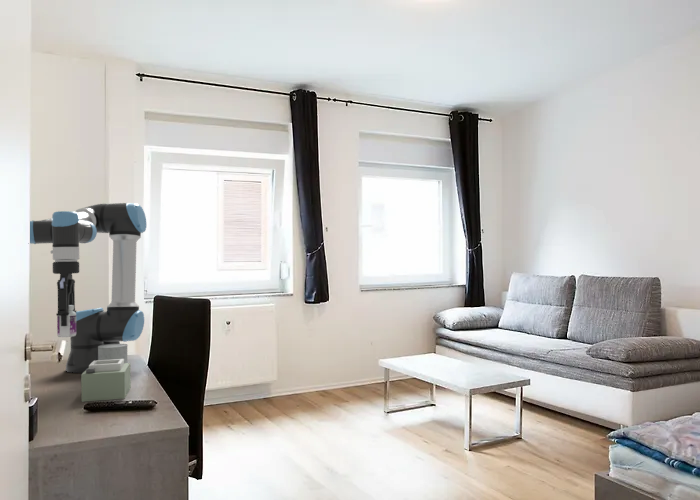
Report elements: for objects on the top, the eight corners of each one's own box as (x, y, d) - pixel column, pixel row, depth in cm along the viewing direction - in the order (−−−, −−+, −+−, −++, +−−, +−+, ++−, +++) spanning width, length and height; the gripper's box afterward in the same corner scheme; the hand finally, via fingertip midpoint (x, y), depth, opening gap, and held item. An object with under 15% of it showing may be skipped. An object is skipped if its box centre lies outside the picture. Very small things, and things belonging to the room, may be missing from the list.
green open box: (91, 390, 188) (90, 359, 188) (130, 387, 191) (130, 356, 191) (81, 401, 172) (81, 367, 172) (124, 398, 175) (124, 365, 175)
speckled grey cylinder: (117, 384, 196) (117, 347, 196) (92, 383, 198) (91, 347, 198) (133, 378, 205) (133, 343, 206) (109, 378, 207) (108, 343, 207)
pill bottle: (58, 338, 178) (57, 306, 178) (56, 336, 183) (56, 305, 183) (77, 336, 181) (77, 305, 181) (75, 334, 185) (74, 304, 186)
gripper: (59, 261, 190) (60, 332, 190) (45, 261, 172) (46, 339, 172) (84, 260, 192) (85, 331, 192) (73, 260, 174) (74, 338, 174)
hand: (66, 335), depth 182 cm, fingers closed on pill bottle, 5 cm apart
